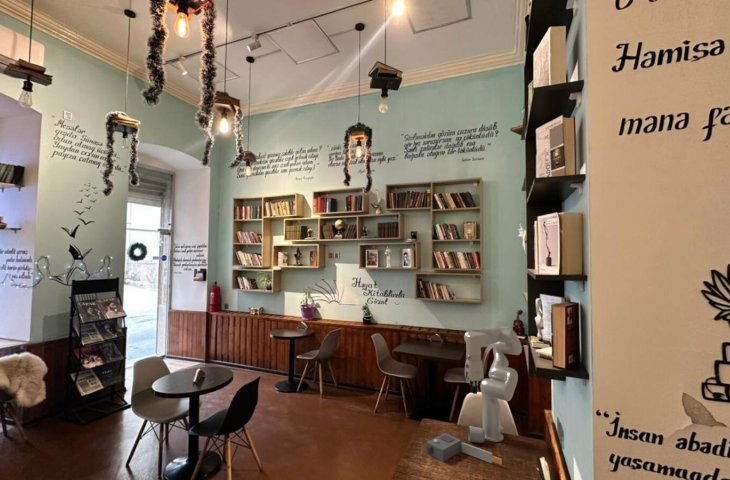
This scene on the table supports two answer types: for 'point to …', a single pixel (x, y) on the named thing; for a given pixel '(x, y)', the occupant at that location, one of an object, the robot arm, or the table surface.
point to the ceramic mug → (476, 434)
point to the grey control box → (443, 447)
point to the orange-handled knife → (479, 453)
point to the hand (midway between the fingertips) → (473, 392)
